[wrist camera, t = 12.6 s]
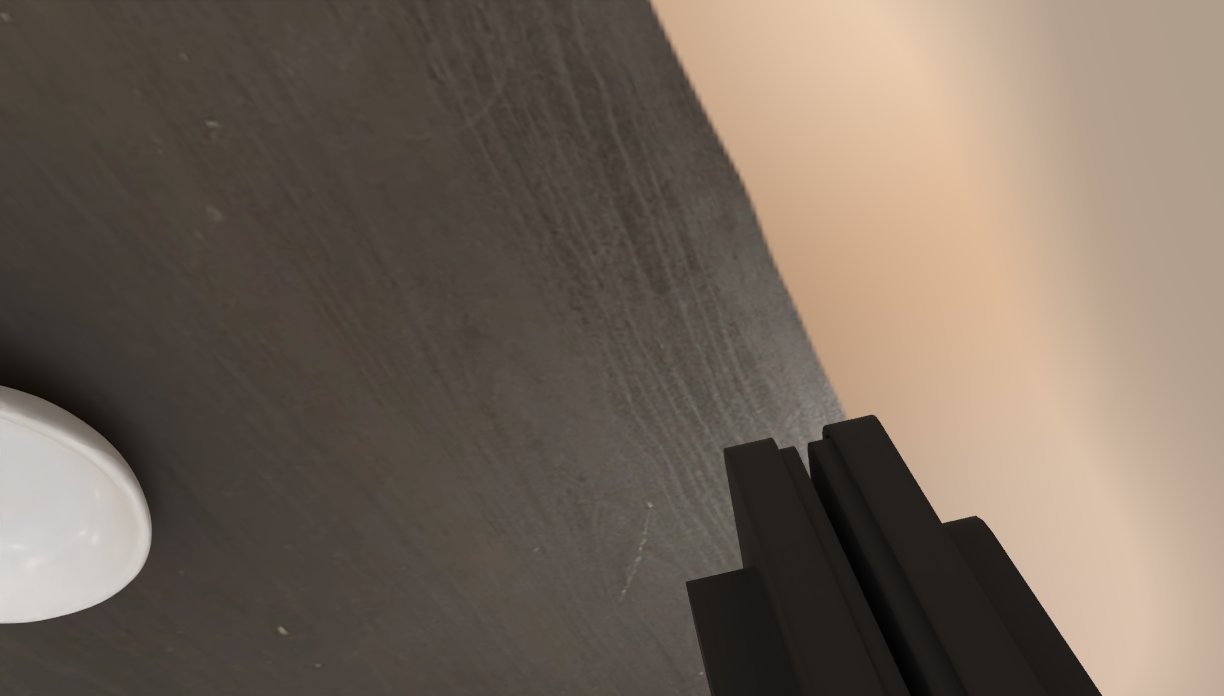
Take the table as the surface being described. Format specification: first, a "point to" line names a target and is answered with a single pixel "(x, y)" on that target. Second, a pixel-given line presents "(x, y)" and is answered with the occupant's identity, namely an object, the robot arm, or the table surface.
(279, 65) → the table surface
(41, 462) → the spoon rest
